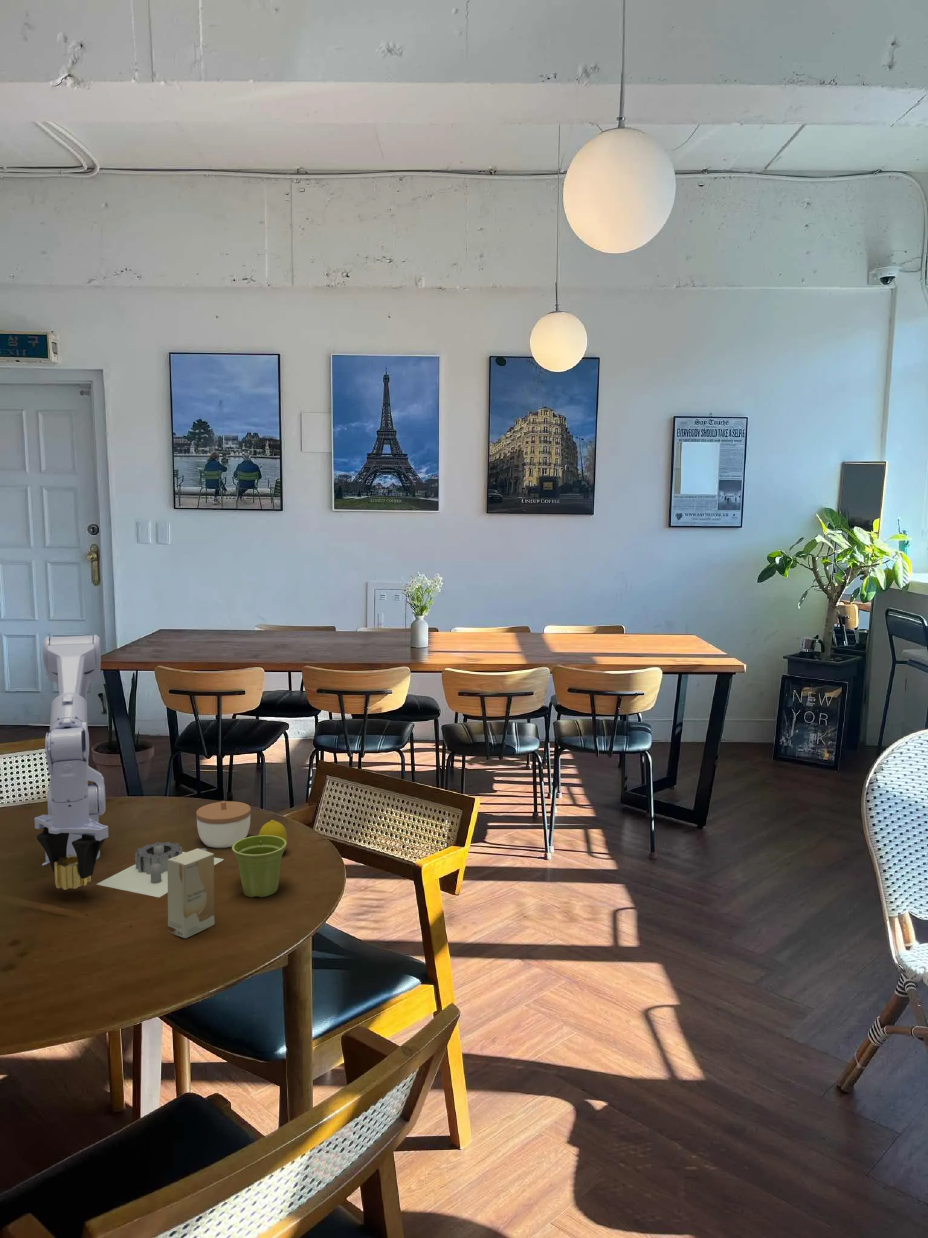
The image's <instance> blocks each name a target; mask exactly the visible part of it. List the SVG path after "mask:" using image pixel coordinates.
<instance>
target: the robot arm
mask: <svg viewBox="0 0 928 1238" xmlns="http://www.w3.org/2000/svg"><path fill="white" fill-rule="evenodd" d="M101 651H102V650H101V637H100V636H98V634H94V635H73V636H72V635H71V636H49V635H47V636H46V637H45V638H44V639H43V642H42V660H43V666H44V668H45V673H46V676H47V678H48V680H49V681H51V682H54V683H57V684H58V696H56V697H55V698H54V699H53V700H52V702H51V706H50V721H49V732H46V734H45V737H44V738H45V739H44V745H45V746H44V747H45V748H44V749H45V753H44V754H45V758H46V762H47V771H48V775H50V777H49V779H50V781H49V782H48V791H47V814H41V815H39V816H37V817H36V816H35V817H34V828H35V829H36V830H42V829H43V830H42V832H41V833H39V834H37V835H36V840H37V841H38V842H39V844H40V845H41V847H42V848H43V850H44V852H45V862H43V863H42V864H41V866H42V867H43V866H45V865H48V864H50V867H51V869H52V872H53V873H54V874H55V868H54V862H55V861H58V860H59V858H61V857H62V858H64V857H67V856H68V855H72V856H73V855H77V858H78V865H79V874H80V877H81V878H82V879H85V878H87V877H89V876H91V877H92V876H93V875H94V870H95V866H96V861H97V860H98V859H99V858H100V856H101V847H102V845H103V844H104V842H105V840H106V839H107V838H109V826H108V825H105V824H102V823H100V819H99V818H100V816H103V815H104V814H105V812H106V787H105V786H106V785H105V778H104V776H103V774H102V773H101V772H100V771H98V770H97V769H94V768H93V767H91V766H89V758H90V757H89V756H90V735H89V734H90V733H89V730H88V729H89V727H88V723H89V722H88V691H89V689H90V688H89V687H90V684H91V682H93V681H95V680H96V679H97V680H98V678H100V673H101V664H102V663H101V662H102V661H101V660H102V656H101V655H102V654H101V653H102V652H101ZM89 782H91V783H89Z"/></svg>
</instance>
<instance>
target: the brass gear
mask: <svg viewBox="0 0 928 1238" xmlns="http://www.w3.org/2000/svg"><path fill="white" fill-rule="evenodd" d="M54 868H55V873H54V885H55V887H56V888H57V889H62V890H68V889H73V890H75V889H79V888H78V887H81V886H83V887H85V886H87V885H88V883H90V882H91V881H92V875H91V876H89V877H87V878H85V879H82V878H81V877H80V874H79V865H78V858H77V855H73V856H72V855H68V856H67V857H64V858H62V857H61V858H59V860H58V861H55V862H54Z"/></svg>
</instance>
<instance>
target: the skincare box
mask: <svg viewBox="0 0 928 1238" xmlns="http://www.w3.org/2000/svg"><path fill="white" fill-rule="evenodd" d="M185 852H186V853H183V854H180V855H178V856H176V857H173V858H170V859H168V860H167V866H168V893H167V927H169V928H171V929H174V931H171V930H167V932H168V933H171V934H173V935H175V936H177V937H181V938H182V939H187V938H189V937H192V936H194V935H196V934H198V933H200V932H202V931H205V930H206V929H208V928H210V927H212V926H215V865H214V857H215V853H214V852H211V851H208V850H207V851H204V850H201V848H194V849H192V850H189V851H185Z"/></svg>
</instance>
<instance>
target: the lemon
mask: <svg viewBox="0 0 928 1238" xmlns="http://www.w3.org/2000/svg"><path fill="white" fill-rule="evenodd" d="M258 835H273V836H278V837H281V838H283V839H284V840H285V841H286V847H287V844H288V834H287V830H286V828H285V826H284V825H283V824H282V823H280V821H276V820H274V819H271V820H270V821H267V822H266V823H264V824H263V825H262V826H261V828H260V830H259V833H258ZM286 847H285V848H284V851H285V850H286Z"/></svg>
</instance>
